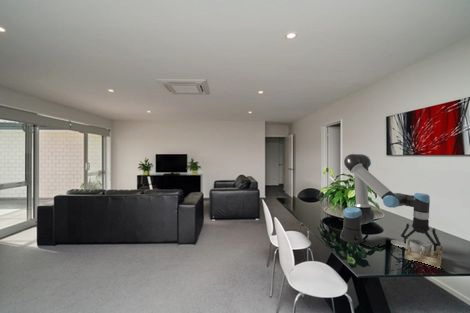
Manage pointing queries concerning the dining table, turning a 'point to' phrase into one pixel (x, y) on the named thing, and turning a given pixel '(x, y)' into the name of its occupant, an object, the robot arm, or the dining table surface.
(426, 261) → the rack
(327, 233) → the dining table surface
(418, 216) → the robot arm
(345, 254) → the dining table surface
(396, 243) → the saucer
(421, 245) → the teacup
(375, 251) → the dining table surface
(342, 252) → the dining table surface
